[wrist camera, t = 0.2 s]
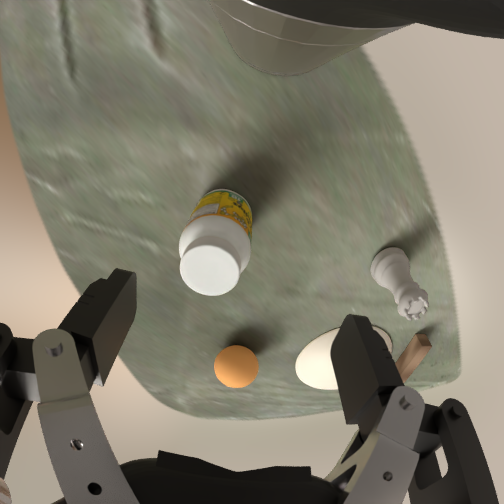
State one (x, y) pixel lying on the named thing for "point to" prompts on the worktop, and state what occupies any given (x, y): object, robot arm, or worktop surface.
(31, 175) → the worktop surface
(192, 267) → the supplement bottle
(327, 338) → the disc
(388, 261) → the rook chess piece
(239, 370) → the egg
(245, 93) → the worktop surface
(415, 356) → the rail
